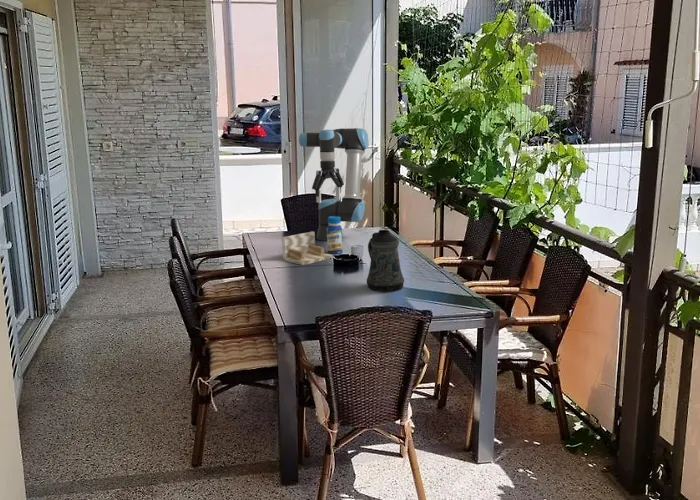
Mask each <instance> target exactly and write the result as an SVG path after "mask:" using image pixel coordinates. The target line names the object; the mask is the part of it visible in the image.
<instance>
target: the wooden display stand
mask: <svg viewBox="0 0 700 500" xmlns="http://www.w3.org/2000/svg"><path fill="white" fill-rule="evenodd" d="M315 233H316V232H315V231H309V232H303V233H297V234H292V235H288V236H287V235H286V236H282V237H281V241H282V242H281V243H282V260H283V261H286V262H289V263H292V264H297V265H300V266H305V265H309V264H313V263H317V262H318V261H319V262H321V261H322V260H323V261H326V259H327V260H331V259H333V255H329V254H328V253H325V249H324V248H325V247H323V246H318V245H316V238H315V237H316V234H315ZM330 258H331V259H330ZM323 261H322V262H323ZM319 262H318V263H319Z"/></svg>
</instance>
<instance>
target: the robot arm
mask: <svg viewBox="0 0 700 500" xmlns="http://www.w3.org/2000/svg"><path fill="white" fill-rule="evenodd" d="M369 141H370V140H369V135H368V133H367V130H366V129H364V128H358V127H356V128H355V127H354V128H352V127H351V128H336V129H321V130H319V132H301V133H300V134H299V137H298V143H299V146H300V147H302V148H319V160H320V161H319V164H320V170H316V172H315V178H314V180H313V183H312V187H311V189H312V190H314V191H315V192H314V193H315V197H316V199H315V200H316V203H318V209H317V210H318V229H317V233H316V240H318V241H323V242H327V227H328V225H329V224H328V217H330V216H339V217H340V218H341V222H344V223H345V222H347V223H348V222H349V223H359V222H361V221H362V219H363V218H364V215H365V211H366V207H365V206H366V205H365V202H364V201H363V199H362V197H361V195H360V194H361V179H362V176H361V175H362V163H363V155H364V153H365V151H366V150H367V149H368V148H369ZM335 149H341V150H344V152H345V153H346V169H345V182H344V181H343V180H344V179H343V178H342V176H341V174H340V169H339V168H338V167H337V168H336V161H335V158H336V157H335ZM327 179H328V180H329V179H331V181H333V183H334V184H335V198H327V199H323V200H322V192H321V191H322V190H321V188H322V187H323V185H324V182H325V181H326V180H327ZM344 183H345V184H344ZM344 185H345V188H344V195H343V196H342V197H341V193H342V188H343V186H344Z"/></svg>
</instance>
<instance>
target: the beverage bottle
mask: <svg viewBox="0 0 700 500" xmlns="http://www.w3.org/2000/svg"><path fill="white" fill-rule="evenodd" d="M341 222H342V221H341V218H340V217H339V216H330V217H328V224H329V225H328V227H327V241H326V243H327V247H326V248H327V251H326V252H327V253H326V254H329V255H333V256H334V255H336V256H340V255H339V254H341V255H343V253H344V252H343V232H342V231H343V227H342V225H341Z"/></svg>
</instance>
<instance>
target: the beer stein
mask: <svg viewBox="0 0 700 500" xmlns="http://www.w3.org/2000/svg"><path fill="white" fill-rule="evenodd" d="M398 246H400V241H399V240H398V238H397V237H396V236H394V235H393V234H391V233H390V231H389V230H387V229H380V230H378V232H374V233H372V235H371V237H370V238H369V242H368V243H367V251H368V255H369V258H370V264H369V270H368V274H367V278H366V285H367V288H368V290H370V291H374V292H378V293H391V292H397V291H402V289H403V288H404V283H405V278H404V275H403V272H402V269H401V263H400V257H399V248H398Z"/></svg>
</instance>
